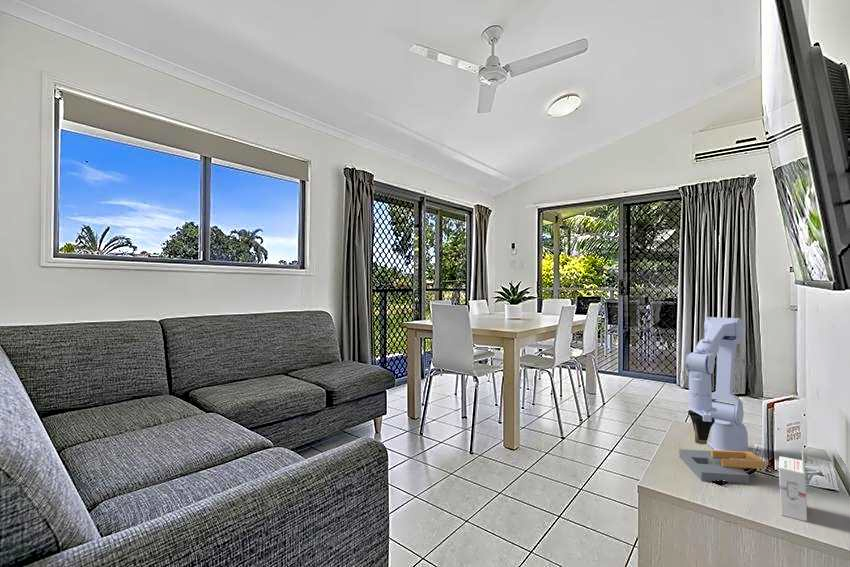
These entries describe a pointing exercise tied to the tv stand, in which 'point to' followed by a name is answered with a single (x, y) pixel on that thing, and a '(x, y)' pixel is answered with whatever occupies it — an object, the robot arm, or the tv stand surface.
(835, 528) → the tv stand surface
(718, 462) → the housing
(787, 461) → the ink cartridge box
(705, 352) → the robot arm
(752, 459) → the cap
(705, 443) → the peg
